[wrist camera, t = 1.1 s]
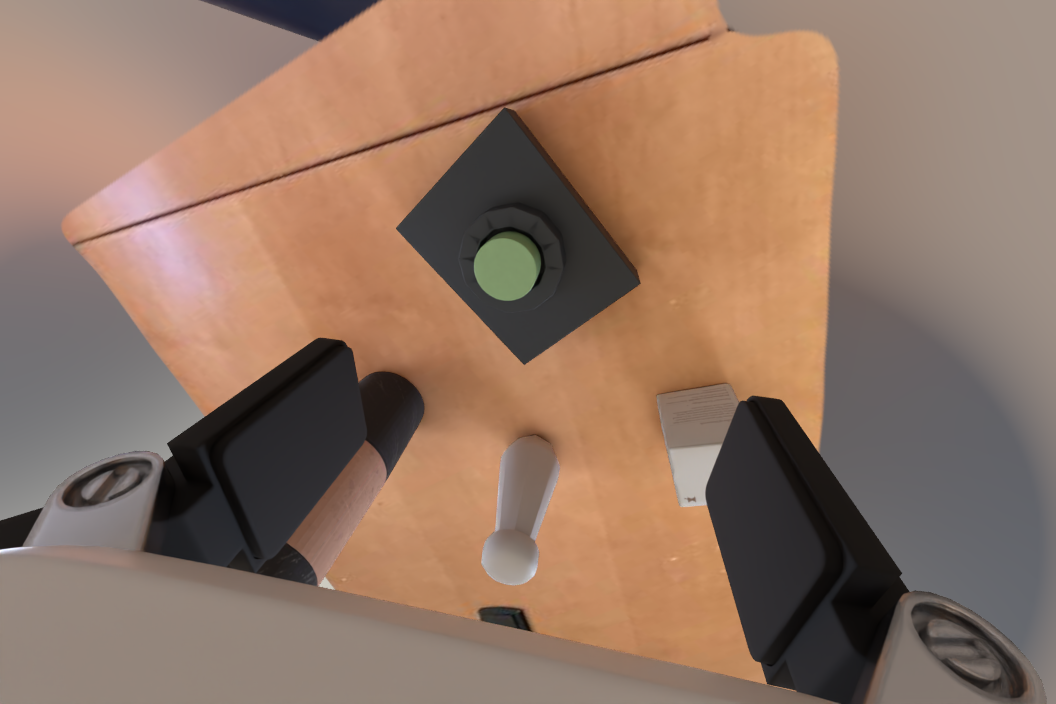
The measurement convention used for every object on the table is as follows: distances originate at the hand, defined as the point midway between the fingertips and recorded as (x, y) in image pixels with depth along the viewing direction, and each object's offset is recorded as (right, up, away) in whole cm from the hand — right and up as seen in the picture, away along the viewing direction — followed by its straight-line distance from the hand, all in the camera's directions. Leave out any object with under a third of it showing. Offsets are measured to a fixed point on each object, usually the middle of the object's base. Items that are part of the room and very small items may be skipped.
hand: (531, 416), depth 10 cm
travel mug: (-14, -3, +30) cm, 34 cm away
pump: (-1, +8, +17) cm, 18 cm away
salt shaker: (+1, -8, +30) cm, 31 cm away
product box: (+15, -4, +25) cm, 30 cm away
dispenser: (0, +10, +21) cm, 23 cm away
